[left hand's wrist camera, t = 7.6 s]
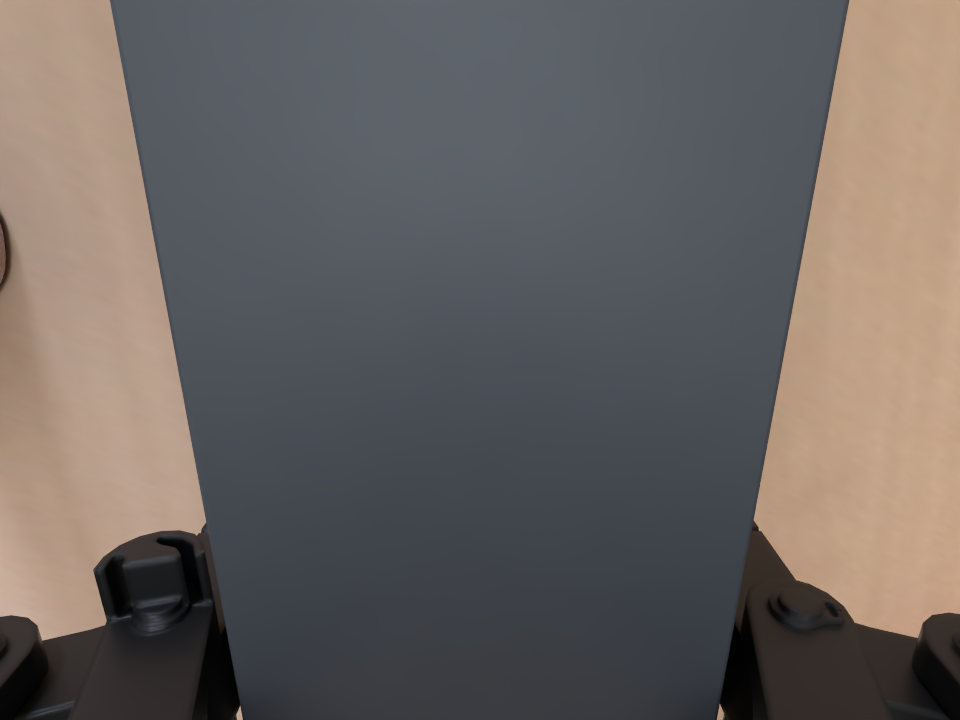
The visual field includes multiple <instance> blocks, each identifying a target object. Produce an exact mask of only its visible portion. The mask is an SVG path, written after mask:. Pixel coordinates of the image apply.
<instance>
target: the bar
mask: <svg viewBox="0 0 960 720" xmlns="http://www.w3.org/2000/svg"><path fill="white" fill-rule="evenodd" d="M110 3H111V8H112V13H113V19H114V24H115V30H116V35H117V41H118V46H119V51H120V57H121V62H122V68H123V73H124V78H125V84H126V89H127V95H128V100H129V105H130V111H131V116H132V122H133V127H134V132H135V138H136V143H137V149H138V154H139V160H140V165H141V170H142V176H143V181H144V187H145V192H146V197H147V203H148V208H149V214H150V219H151V224H152V230H153V235H154V241H155V246H156V252H157V257H158V262H159V268H160V273H161V279H162V284H163V289H164V295H165V300H166V306H167V311H168V316H169V322H170V327H171V333H172V338H173V343H174V349H175V354H176V360H177V365H178V371H179V376H180V381H181V387H182V392H183V398H184V403H185V408H186V414H187V419H188V425H189V430H190V435H191V441H192V446H193V452H194V457H195V462H196V468H197V473H198V479H199V484H200V490H201V495H202V500H203V506H204V511H205V517H206V522H207V527H208V533H209V538H210V544H211V549H212V554H213V560H214V565H215V571H216V576H217V582H218V587H219V592H220V598H221V603H222V609H223V614H224V619H225V625H226V630H227V636H228V641H229V646H230V652H231V657H232V663H233V668H234V673H235V679H236V684H237V690H238V695H239V701H240V706H241V711H242V717H243V720H717V715H718V709H719V704H720V699H721V693H722V688H723V682H724V677H725V671H726V666H727V661H728V655H729V650H730V644H731V639H732V633H733V628H734V623H735V617H736V612H737V606H738V601H739V595H740V590H741V585H742V579H743V574H744V568H745V563H746V557H747V552H748V547H749V541H750V536H751V530H752V525H753V519H754V514H755V509H756V503H757V498H758V492H759V487H760V481H761V476H762V471H763V465H764V460H765V454H766V449H767V443H768V438H769V433H770V427H771V422H772V416H773V411H774V405H775V400H776V395H777V389H778V384H779V378H780V373H781V367H782V362H783V357H784V351H785V346H786V340H787V335H788V329H789V324H790V319H791V313H792V308H793V302H794V297H795V291H796V286H797V281H798V275H799V270H800V264H801V259H802V253H803V248H804V243H805V237H806V232H807V226H808V221H809V215H810V210H811V205H812V199H813V194H814V188H815V183H816V177H817V172H818V167H819V161H820V156H821V150H822V145H823V139H824V134H825V129H826V123H827V118H828V112H829V107H830V101H831V96H832V91H833V85H834V80H835V74H836V69H837V63H838V58H839V53H840V47H841V42H842V36H843V31H844V25H845V20H846V15H847V9H848V4H849V0H110Z"/></svg>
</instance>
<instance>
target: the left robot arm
mask: <svg viewBox="0 0 960 720" xmlns="http://www.w3.org/2000/svg"><path fill="white" fill-rule="evenodd" d="M93 571H94V575H95V578H96V582H97V586H98V589H99V593H100V597H101V601H102V604H103V608H104V612H105V615H106V619H107V622H106V625H105V626H101V627H98V628H95V629H91V630H88V631H83V632H79V633H74V634H70V635H66V636H61V637H57V638H53V639H48V640H44V641H42V639H41V636H40V633H39V629H38V626H37V625H36V624H35V623H34V622H32V621H31V620H30V619H29V618H26V617H19V616H12V615H11V616H4V617H0V720H237V717H236V714H237V712H238V709H239V707H240V701H239V695H238V690H237V684H236V679H235V673H234V668H233V663H232V657H231V652H230V646H229V641H228V636H227V630H226V625H225V619H224V614H223V609H222V603H221V598H220V592H219V587H218V582H217V576H216V571H215V565H214V560H213V554H212V549H211V544H210V538H209V533H208V527H207V522H206V524H205V525H204V527H203V528H202V530H201V533H199V534H198V535H197V536H196V535H195V534H192V533H188V532H184V531H180V530H179V531H160V532H156V533H152V534H148V535H143V536H140V537H137V538H135V539H133V540H131V541H128V542H126V543H124V544H122V545H120V546H118V547H117V548H115V549H114V550H113V551H111V552H110V553H108V554H107V555H106V556H104V557H103V558H102V560H101V561H100V562H99V563H98V565H97V566H96V567H95V568H94V570H93ZM720 705H721V707H722V709H723V712H724V717H723V720H960V614H954V613H944V614H937V615H932V616H931V617H930V618H928V619H927V620H926V621H925V622H924V623H923V625H922V628H921V631H920V634H919V637H918V638H914V637H910V636H906V635H901V634H897V633H892V632H888V631H884V630H879V629H875V628H870V627H867V626H864V625H860V624H857V623H854V621H853V619H852V618H851V616H850V615H849V613H848V612H847V610H846V609H845V607H844V606H843V605H842V604H840V603H839V602H838V601H837V600H835V599H834V598H833V597H832V596H830V595H829V594H828V593H826V592H824V591H822V590H820V589H818V588H816V587H814V586H812V585H810V584H807V583H804V582H800V581H797V580H795V578H794V577H793V575H792V574H791V573H790V571H789V570H788V568H787V567H786V566H785V564H784V563H783V561H782V560H781V558H780V557H779V556H778V554H777V553H776V551H775V550H774V549H773V547H772V546H771V544H770V543H769V542H768V540H767V539H766V537H765V536H764V535H763V533H762V532H761V531H759V529H758V526H757V525H756V523H755V522H754V520H753V525H752V530H751V536H750V541H749V547H748V552H747V557H746V563H745V568H744V574H743V579H742V585H741V590H740V595H739V601H738V606H737V612H736V617H735V623H734V628H733V633H732V639H731V644H730V650H729V655H728V661H727V666H726V671H725V677H724V682H723V688H722V693H721V699H720Z"/></svg>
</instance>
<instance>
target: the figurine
mask: <svg viewBox="0 0 960 720" xmlns="http://www.w3.org/2000/svg"><path fill="white" fill-rule="evenodd" d="M3 235H4V234H3V231H2V227H1V224H0V283H1V281H2V279H3V276H4V271H5V260H6V252H5V244H4V236H3Z"/></svg>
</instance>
